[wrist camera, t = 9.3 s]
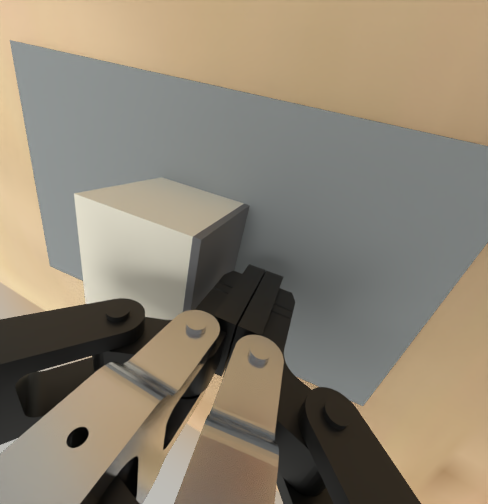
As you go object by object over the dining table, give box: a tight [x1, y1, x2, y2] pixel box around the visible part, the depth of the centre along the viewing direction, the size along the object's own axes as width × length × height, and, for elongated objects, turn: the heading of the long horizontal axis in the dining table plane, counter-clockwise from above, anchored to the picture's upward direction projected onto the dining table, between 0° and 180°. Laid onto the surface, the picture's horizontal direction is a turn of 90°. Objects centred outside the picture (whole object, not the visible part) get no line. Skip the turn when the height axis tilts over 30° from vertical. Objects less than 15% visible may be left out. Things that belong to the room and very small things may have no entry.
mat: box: [10, 40, 488, 406], centre depth 14 cm, size 24×14×1 cm, turn 77°
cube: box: [74, 177, 250, 320], centre depth 11 cm, size 5×5×5 cm
